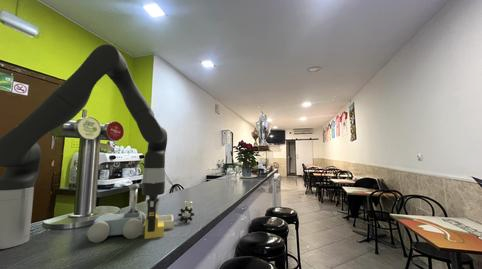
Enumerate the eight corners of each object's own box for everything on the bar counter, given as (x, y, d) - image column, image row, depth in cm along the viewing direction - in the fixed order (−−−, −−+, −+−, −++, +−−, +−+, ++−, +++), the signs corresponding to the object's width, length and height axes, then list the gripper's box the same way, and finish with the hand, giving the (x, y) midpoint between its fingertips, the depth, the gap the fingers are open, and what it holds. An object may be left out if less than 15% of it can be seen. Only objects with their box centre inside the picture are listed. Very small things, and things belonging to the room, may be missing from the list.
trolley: (86, 243, 68) (88, 220, 69) (98, 230, 80) (99, 210, 81) (141, 237, 73) (142, 215, 74) (145, 225, 86) (146, 207, 86)
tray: (148, 231, 80) (148, 222, 80) (149, 223, 88) (150, 216, 88) (173, 228, 83) (173, 220, 83) (172, 221, 91) (173, 214, 91)
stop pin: (126, 217, 77) (128, 185, 78) (128, 214, 80) (129, 184, 81) (137, 216, 78) (138, 185, 79) (138, 213, 81) (139, 184, 82)
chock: (144, 238, 73) (145, 219, 73) (145, 233, 77) (146, 215, 78) (163, 236, 75) (164, 217, 75) (163, 231, 79) (164, 213, 80)
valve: (181, 215, 101) (177, 223, 89) (181, 201, 102) (178, 207, 90) (195, 214, 102) (194, 222, 90) (195, 200, 103) (194, 206, 91)
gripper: (144, 178, 83) (142, 222, 81) (140, 183, 69) (137, 235, 68) (164, 178, 85) (163, 220, 84) (164, 182, 72) (163, 233, 70)
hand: (151, 227), depth 76 cm, fingers open, 8 cm apart
